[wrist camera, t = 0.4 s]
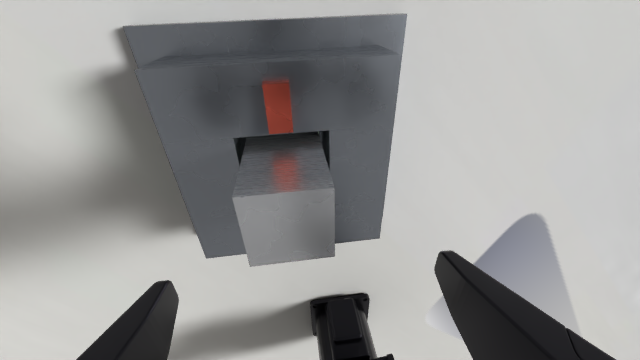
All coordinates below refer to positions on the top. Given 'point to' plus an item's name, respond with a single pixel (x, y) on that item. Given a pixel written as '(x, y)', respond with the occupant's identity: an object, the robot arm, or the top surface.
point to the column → (285, 199)
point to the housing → (273, 108)
